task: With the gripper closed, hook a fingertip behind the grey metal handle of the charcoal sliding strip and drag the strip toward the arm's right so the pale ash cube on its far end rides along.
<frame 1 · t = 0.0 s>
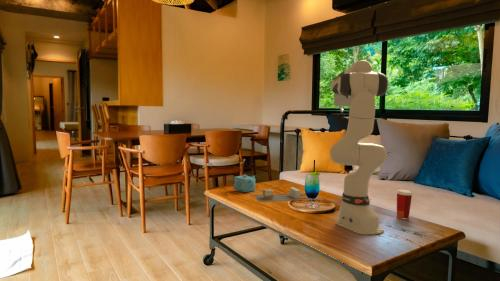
hand: (349, 112, 211), 54 cm above the table, tool tilted 30°, fingers open, 8 cm apart
cube: (267, 198, 199), point 1 cm above the table, touching strip
strip: (277, 194, 201), point 3 cm above the table, slide at 0.0 cm, touching cube
glass of red beer: (402, 217, 173), on the table
lane rails: (271, 199, 200), on the table
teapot: (245, 192, 217), on the table
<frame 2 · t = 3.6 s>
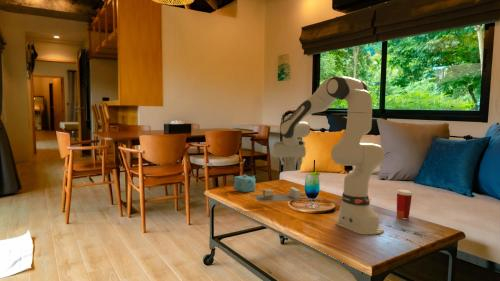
hand: (288, 164, 201), 21 cm above the table, tool pointing down, fingers open, 6 cm apart
nothing on the table moved.
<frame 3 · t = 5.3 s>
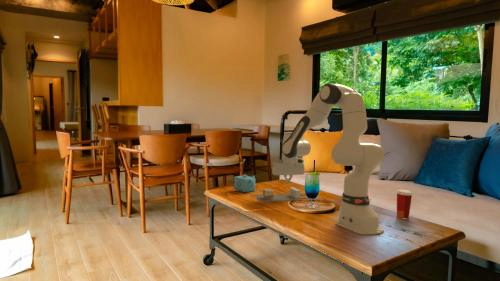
hand: (287, 182, 203), 10 cm above the table, tool pointing down, fingers closed
nothing on the table moved.
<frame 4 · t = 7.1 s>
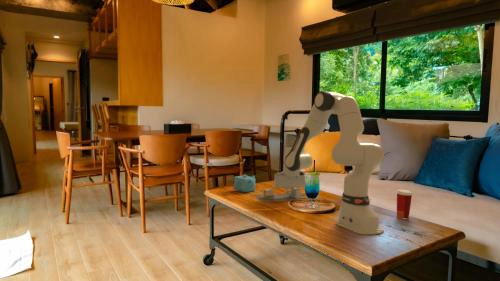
hand: (289, 194, 203), 3 cm above the table, tool pointing down, fingers closed
strip: (278, 194, 201), point 3 cm above the table, slide at 0.4 cm, touching cube, gripper
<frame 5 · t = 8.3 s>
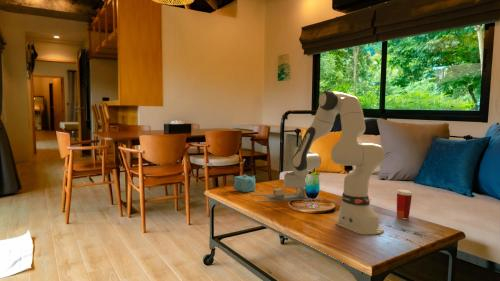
hand: (299, 194, 205), 3 cm above the table, tool pointing down, fingers closed
cube: (278, 197, 201), point 1 cm above the table, touching strip
strip: (287, 193, 203), point 3 cm above the table, slide at 6.8 cm, touching cube, gripper
everything else where it was.
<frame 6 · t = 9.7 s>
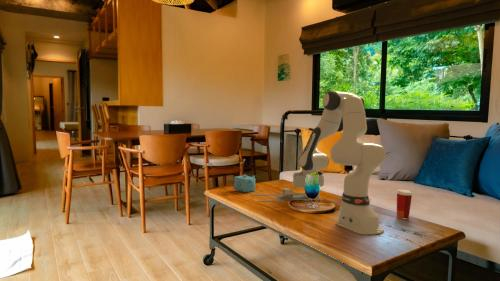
hand: (307, 193, 207), 3 cm above the table, tool pointing down, fingers closed
cube: (287, 197, 203), point 1 cm above the table, touching strip
strip: (296, 193, 205), point 3 cm above the table, slide at 12.8 cm, touching cube, gripper
everything else where it was.
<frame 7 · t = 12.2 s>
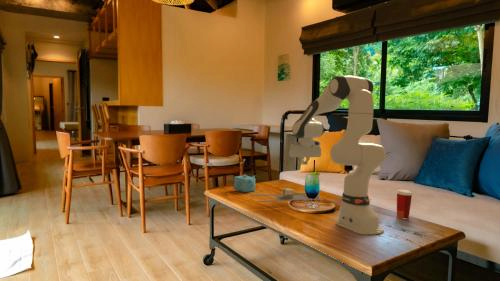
hand: (304, 164, 204), 21 cm above the table, tool pointing down, fingers closed
strip: (296, 193, 205), point 3 cm above the table, slide at 12.9 cm, touching cube
everything else where it was.
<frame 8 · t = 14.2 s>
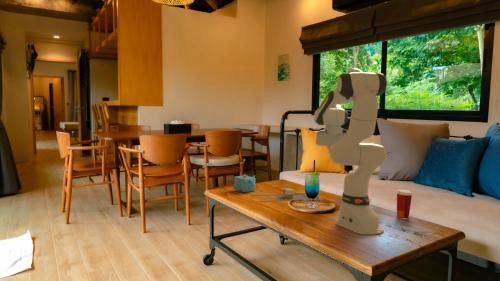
hand: (331, 153, 199), 29 cm above the table, tool pointing down, fingers closed
nothing on the table moved.
at the end: strip slide at 12.9 cm; cube inside the target area (0.9 cm from its centre), point 0.9 cm above the table; cube touching strip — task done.
